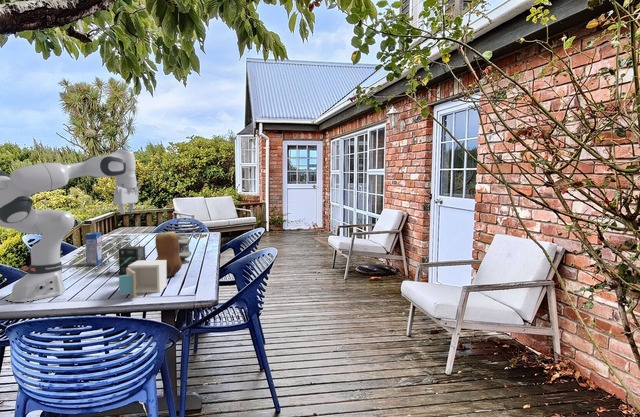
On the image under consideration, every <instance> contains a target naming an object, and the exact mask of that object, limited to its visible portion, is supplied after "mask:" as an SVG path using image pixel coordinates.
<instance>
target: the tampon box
mask: <svg viewBox="0 0 640 417" xmlns="http://www.w3.org/2000/svg"><path fill="white" fill-rule="evenodd" d="M139 260H146V246H144V245H143V246H142V245H141V246H139V245H137V246H133V245H132V246H124V247H121V248H120V247H119V248H118V265H119V266H118V267H119V269H118V270H119V274H120V275H121V274H122V275H126V268H128V265H130V264H132V263H134V262H136V261H139Z"/></svg>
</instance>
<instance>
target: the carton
mask: <svg viewBox="0 0 640 417" xmlns="http://www.w3.org/2000/svg"><path fill="white" fill-rule="evenodd" d="M128 268H130V269H131V270H133V271H134V272H135V273H136V294H138V293H139V294H141V293H144V294H145V293H160V292H162V291H163V290H164V289H165V288H166V287H168V277H167V260H157V259H152V260H151V259H150V260H149V259H148V260H146V259H145V260H139V261H136V262H134V263H132V264H130V265H128Z"/></svg>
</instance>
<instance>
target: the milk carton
mask: <svg viewBox="0 0 640 417" xmlns="http://www.w3.org/2000/svg"><path fill="white" fill-rule="evenodd" d="M84 236H85V257H86V258H85V260H86V267H98V266H100V265H101V264H103V263H104V262H103V241H102V240H103V239H102V238H103V237H102V232H101V231H100V232H99V231H98V232H97V231H96V232H94V231H91V232H88V233H85V234H84Z"/></svg>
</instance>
